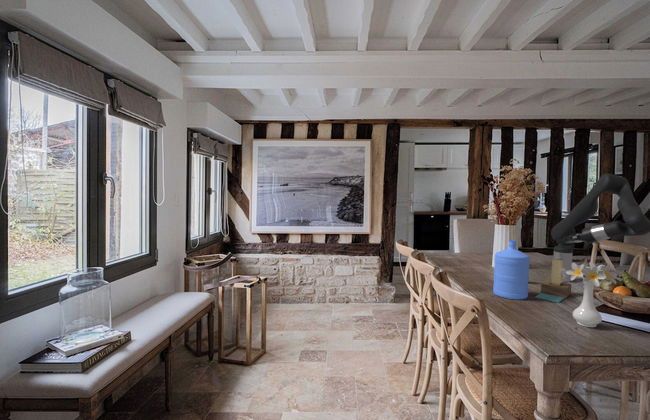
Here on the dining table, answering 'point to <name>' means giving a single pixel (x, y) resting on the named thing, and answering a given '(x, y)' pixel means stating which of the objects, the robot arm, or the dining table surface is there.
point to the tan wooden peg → (556, 272)
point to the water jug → (511, 273)
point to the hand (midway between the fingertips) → (561, 242)
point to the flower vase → (588, 291)
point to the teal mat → (549, 297)
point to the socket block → (556, 289)
